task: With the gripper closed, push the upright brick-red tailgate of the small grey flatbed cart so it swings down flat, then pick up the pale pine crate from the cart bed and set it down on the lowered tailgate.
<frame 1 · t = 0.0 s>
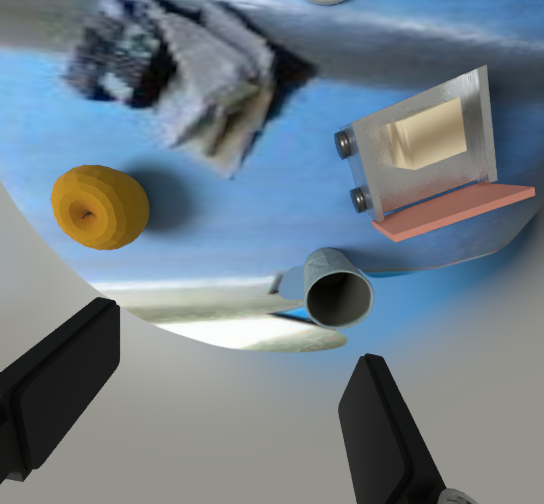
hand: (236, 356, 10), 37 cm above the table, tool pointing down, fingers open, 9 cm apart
tailgate: (440, 211, 35), point 9 cm above the table, hinge at -3.0°
apple: (128, 200, 46), on the table
cart: (400, 151, 41), on the table
grey round bin: (326, 266, 49), on the table
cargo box: (412, 137, 36), point 5 cm above the table, touching cart
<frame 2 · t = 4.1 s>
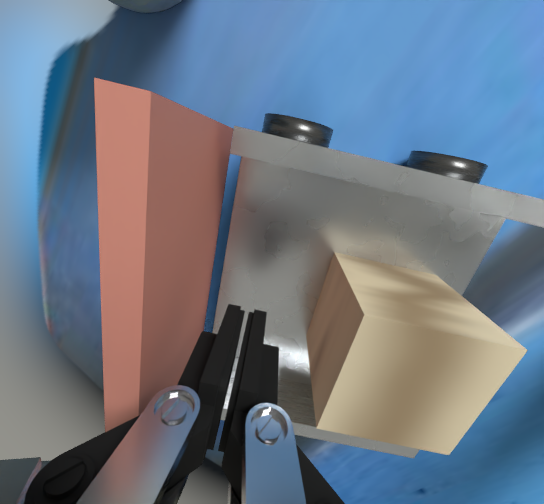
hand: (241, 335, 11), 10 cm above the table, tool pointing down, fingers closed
tailgate: (173, 309, 12), point 9 cm above the table, hinge at -1.4°, touching gripper
cart: (323, 266, 20), on the table
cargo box: (366, 307, 16), point 5 cm above the table, touching cart
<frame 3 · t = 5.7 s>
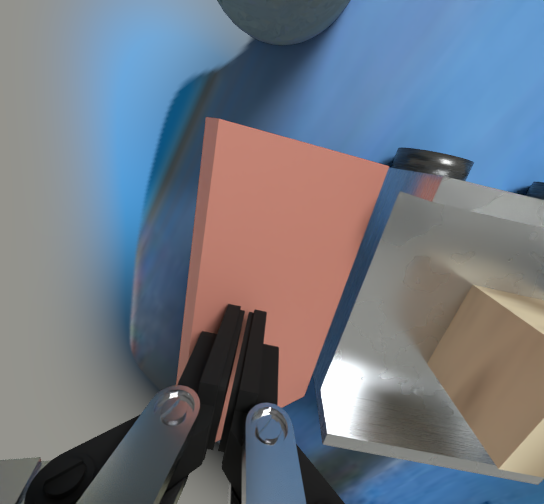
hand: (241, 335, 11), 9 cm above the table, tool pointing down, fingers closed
tailgate: (272, 309, 13), point 7 cm above the table, hinge at 53.3°, touching gripper
cart: (422, 289, 20), on the table
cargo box: (494, 336, 16), point 5 cm above the table, touching cart
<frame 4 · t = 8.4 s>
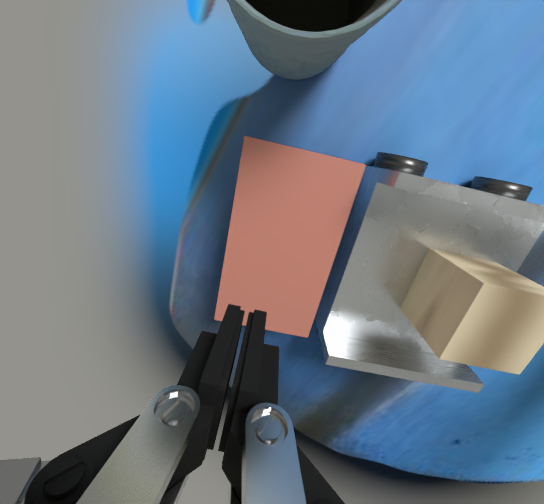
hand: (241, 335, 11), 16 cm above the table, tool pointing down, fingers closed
tailgate: (280, 248, 22), point 4 cm above the table, hinge at 90.2°
cart: (399, 259, 27), on the table
grey round bin: (298, 20, 20), on the table
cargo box: (446, 286, 22), point 5 cm above the table, touching cart
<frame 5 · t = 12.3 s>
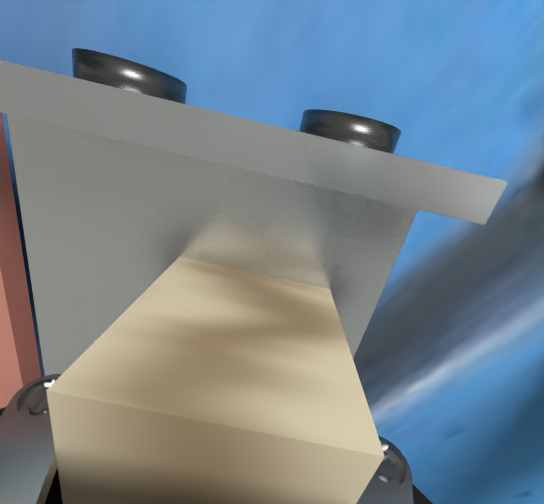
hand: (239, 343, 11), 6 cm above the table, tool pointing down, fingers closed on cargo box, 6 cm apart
cart: (222, 273, 16), on the table
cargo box: (242, 333, 11), point 5 cm above the table, touching cart, gripper
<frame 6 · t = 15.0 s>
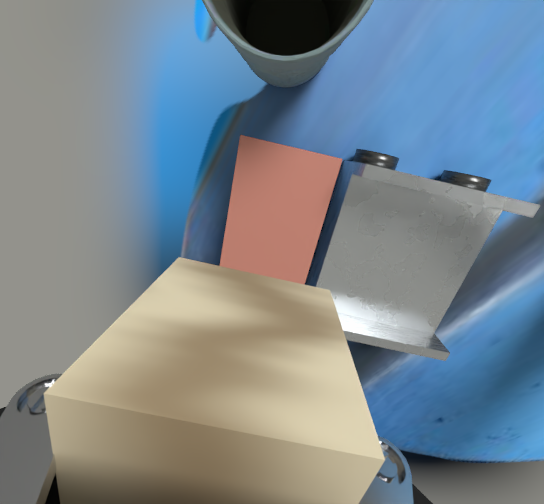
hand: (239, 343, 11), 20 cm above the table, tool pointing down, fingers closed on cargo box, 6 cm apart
tailgate: (272, 231, 26), point 4 cm above the table, hinge at 90.2°
cart: (380, 245, 30), on the table
grey round bin: (287, 37, 24), on the table
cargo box: (242, 334, 11), point 20 cm above the table, touching gripper
when the fingers open (7 cm above the table, at t = 17.8 s): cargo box drops 1 cm, resting on tailgate.
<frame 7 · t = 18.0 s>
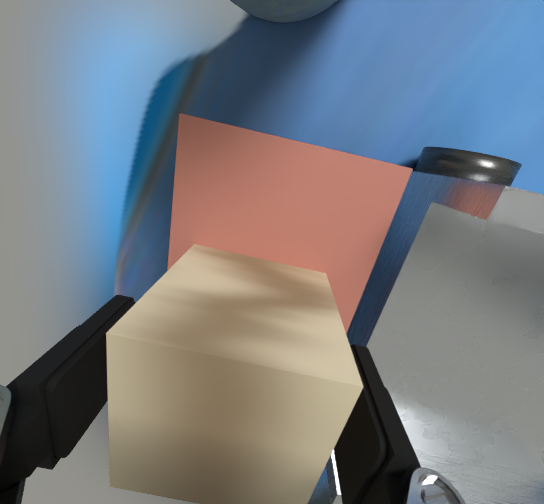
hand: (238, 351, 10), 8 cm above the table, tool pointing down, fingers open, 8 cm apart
tailgate: (258, 307, 13), point 4 cm above the table, hinge at 90.3°, touching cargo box
cart: (445, 310, 18), on the table
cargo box: (248, 313, 13), point 5 cm above the table, touching tailgate
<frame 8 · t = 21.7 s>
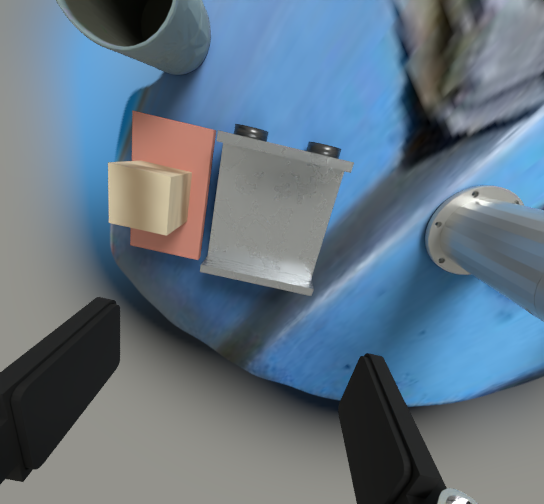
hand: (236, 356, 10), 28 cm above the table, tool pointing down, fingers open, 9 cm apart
tailgate: (170, 191, 32), point 4 cm above the table, hinge at 90.3°, touching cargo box
cart: (272, 207, 36), on the table
grey round bin: (176, 34, 30), on the table
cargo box: (165, 191, 31), point 5 cm above the table, touching tailgate
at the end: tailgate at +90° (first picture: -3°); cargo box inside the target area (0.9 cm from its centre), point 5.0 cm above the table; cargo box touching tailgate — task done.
